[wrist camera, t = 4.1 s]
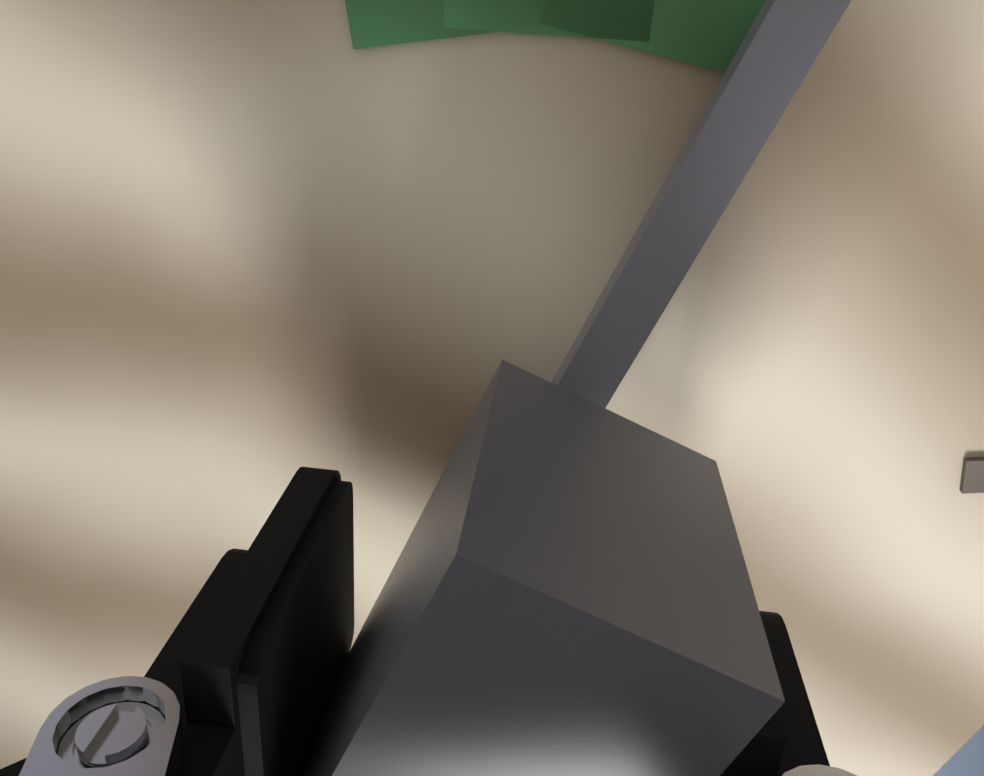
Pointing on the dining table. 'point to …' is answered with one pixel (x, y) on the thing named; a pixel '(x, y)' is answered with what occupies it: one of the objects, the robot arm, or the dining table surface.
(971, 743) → the dining table surface
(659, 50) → the wooden cutting board
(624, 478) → the key
